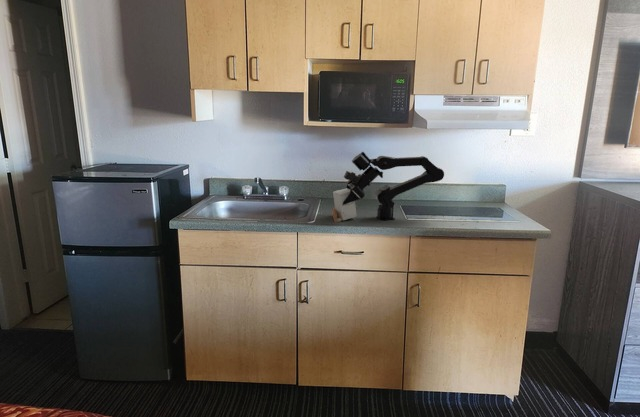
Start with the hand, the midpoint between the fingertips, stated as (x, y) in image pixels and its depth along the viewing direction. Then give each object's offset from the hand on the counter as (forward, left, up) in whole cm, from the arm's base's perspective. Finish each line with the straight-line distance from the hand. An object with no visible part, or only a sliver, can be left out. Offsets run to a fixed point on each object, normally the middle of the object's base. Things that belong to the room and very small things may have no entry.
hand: (342, 201), depth 194 cm
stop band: (+2, -1, -8) cm, 8 cm away
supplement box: (-2, +1, -8) cm, 8 cm away
